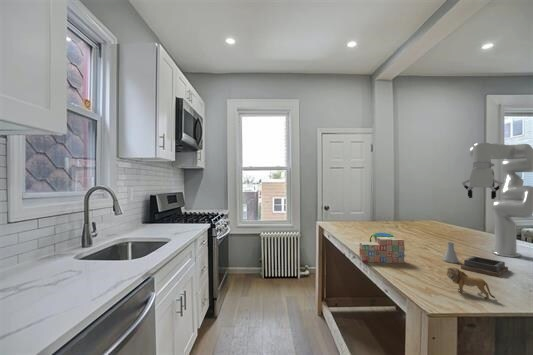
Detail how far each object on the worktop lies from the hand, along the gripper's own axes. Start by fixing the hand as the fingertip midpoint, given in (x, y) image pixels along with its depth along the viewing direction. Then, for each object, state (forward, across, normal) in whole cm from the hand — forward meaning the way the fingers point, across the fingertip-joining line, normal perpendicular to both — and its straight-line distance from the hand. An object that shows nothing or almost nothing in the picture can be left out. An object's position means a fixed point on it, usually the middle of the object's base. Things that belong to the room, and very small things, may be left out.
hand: (481, 198), depth 145 cm
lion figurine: (+36, -10, +53) cm, 65 cm away
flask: (+34, +10, +11) cm, 37 cm away
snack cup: (+34, +43, +19) cm, 59 cm away
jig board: (+34, -5, +13) cm, 37 cm away
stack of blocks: (+35, +33, +40) cm, 62 cm away
